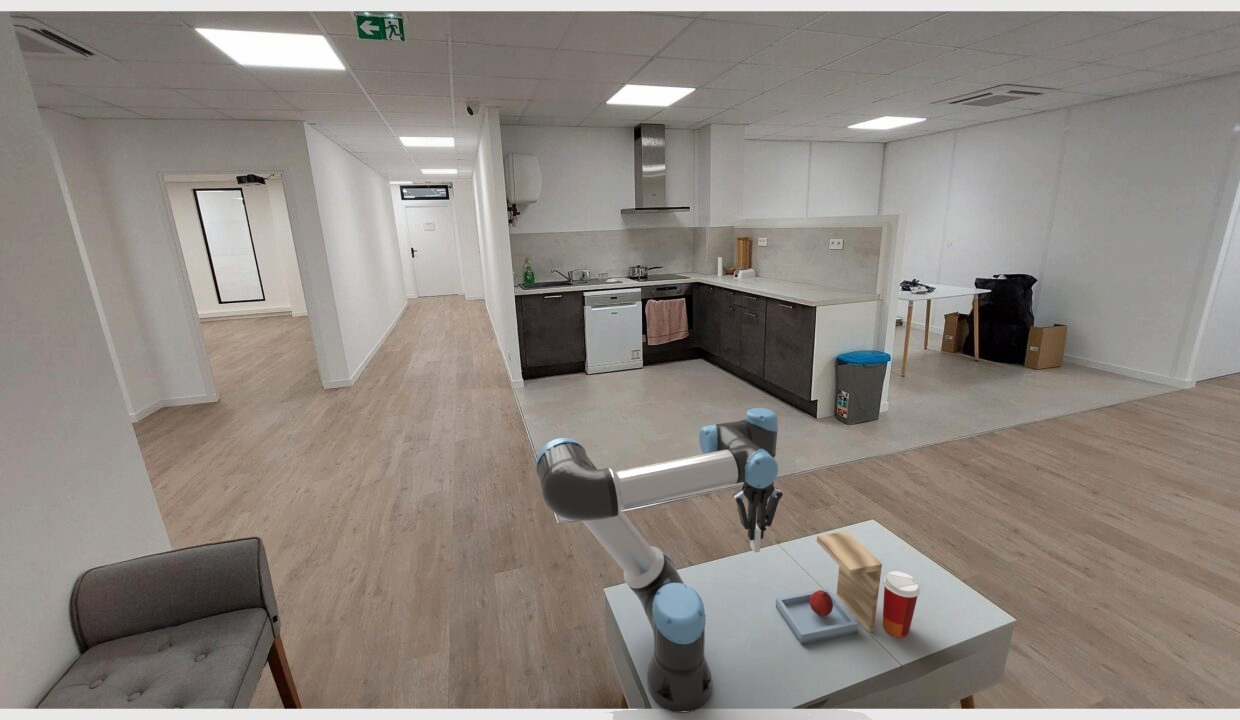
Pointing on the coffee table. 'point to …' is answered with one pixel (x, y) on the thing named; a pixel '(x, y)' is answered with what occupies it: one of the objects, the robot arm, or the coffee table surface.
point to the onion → (821, 603)
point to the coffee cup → (899, 603)
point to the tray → (815, 618)
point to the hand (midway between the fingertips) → (754, 548)
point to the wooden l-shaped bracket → (855, 575)
